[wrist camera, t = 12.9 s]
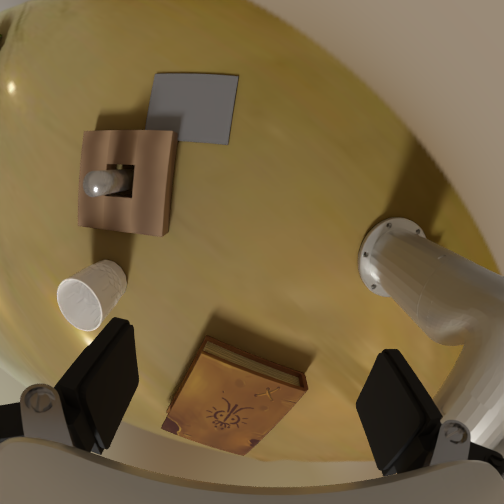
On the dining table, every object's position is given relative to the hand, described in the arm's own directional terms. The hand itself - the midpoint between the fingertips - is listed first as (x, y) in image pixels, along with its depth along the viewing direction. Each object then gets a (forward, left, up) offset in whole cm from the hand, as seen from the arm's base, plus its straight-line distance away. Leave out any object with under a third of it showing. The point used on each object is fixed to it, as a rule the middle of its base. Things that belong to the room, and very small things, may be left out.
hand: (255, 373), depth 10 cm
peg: (+19, -4, -30) cm, 36 cm away
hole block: (+19, -4, -30) cm, 36 cm away
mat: (+11, -15, -30) cm, 36 cm away
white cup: (+22, +12, -31) cm, 39 cm away
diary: (0, +33, -31) cm, 45 cm away
